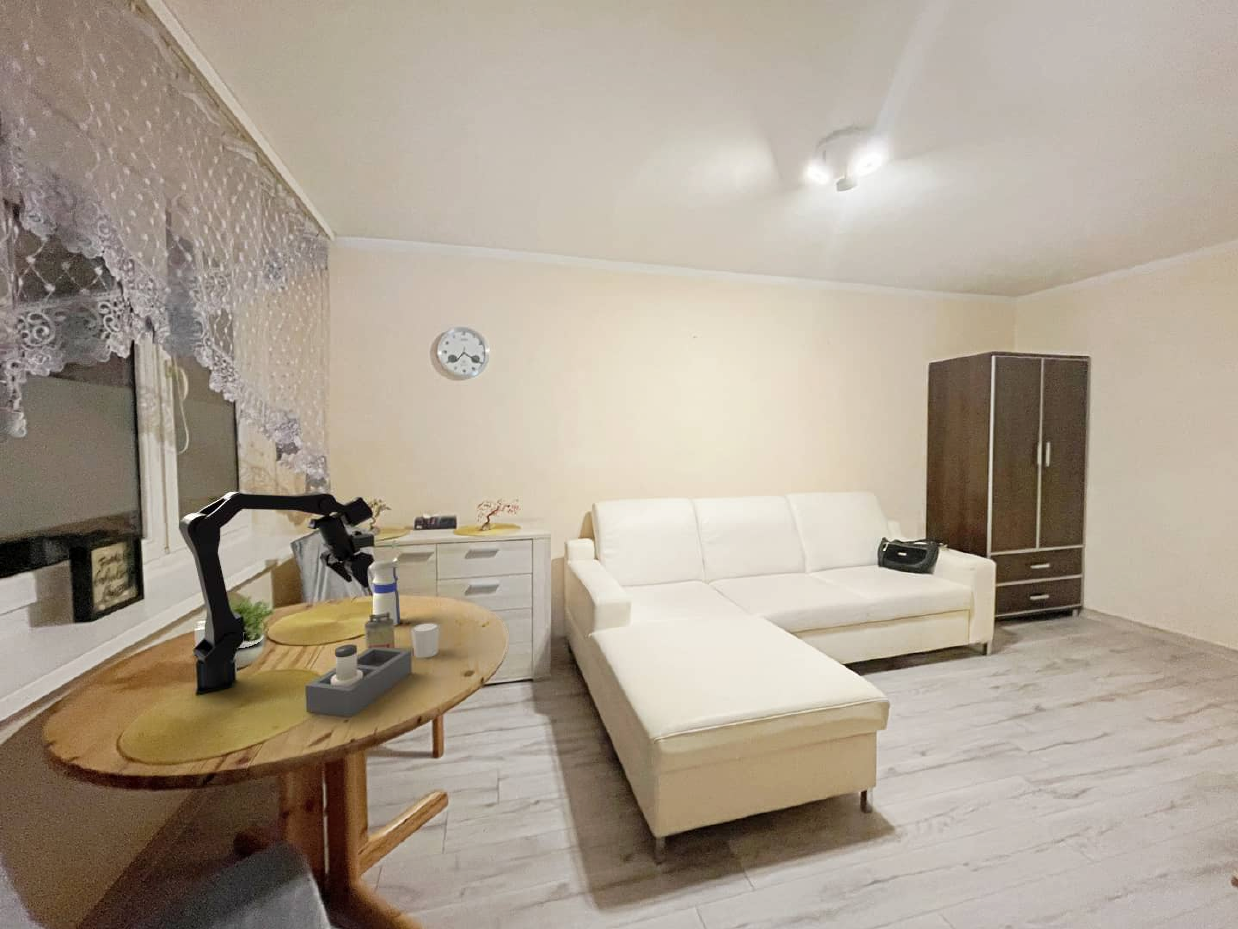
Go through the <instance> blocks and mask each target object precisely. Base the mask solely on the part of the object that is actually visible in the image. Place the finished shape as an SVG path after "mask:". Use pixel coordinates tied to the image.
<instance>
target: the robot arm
mask: <svg viewBox="0 0 1238 929" xmlns="http://www.w3.org/2000/svg"><path fill="white" fill-rule="evenodd" d="M363 498H364V497H362V496H361V497H360V496H357V497H355V498H353V499H352V500H350V501H348V502H346V503H344V504H343V503H340V502H339V501H337V500H336V498H335V496H334V494H331V493H327V492H326V493H325V492H319V491H317V492H316V491H314V492H306V493H304V492H303V493H300V494H291V495H289V494H268V493H267V494H266V493H264V494H263V493H245V492H238V491H230V492H228V493H226V494H225V495H223V496H222V497H221V498H219V499H218V500H216V501H214V502H212V503H210V504H209V505H207V506H205V507H203V508H202V509H200V510H199V511H198V512H192V513H189V514H187V515H186V516H184V517H183V518H182V519H181V520H180V521H179V524H178V531H179V532H180V534H181V536H182V538H183V540H184V542H185V544H186V546H187V547H188V548H189V550H190V552H191V554H192V556H193V559H194V562H195V566H196V572H197V576H198V580H199V584H200V590H201V593H202V598H203V602H204V607H205V610H206V618H205V620H204V621H205V638H204V639H203V640H202V641H201V642H200V643H199V644H198V645H197V646H196V647H195V646H194V648H193V649H192V652H193V655H194V656H195V657H196V658H197V659H198V660H197V661H196V663H195V671H196V690H195V693H196V694H195V695H198V694H197V693H201V694H203V693H204V694H205V693H209V691H210V692H214V691H219V689H220V690H223V689H222V688H224V689H228V688H227V687H229V688H232V687H233V685H234V682H236V681H237V678H238V670H237V669H238V668H237V664H238V663H237V659H236V658H235V656H236V653H237V650H238V649H239V648H241V647H240V645H241V644H242V643H243V642H244V633H247V631H246V630H245V628H246V627H245V617H244V616H243V615H241V614H239V613H238V612H237V611H232V610H231V606H230V600H229V597H228V592H227V587H226V583H225V578H224V574H223V570H222V566H221V565H222V564H221V561H220V557H219V556H220V555H219V548H220V543H221V528H222V527H224V526H225V525H227V524H228V523H230V521H231V520H232V519H233V518H235V516H236V515H237V514H238V513H239V512H241V511H242V510H263V511H264V510H265V511H266V510H267V511H270V510H271V511H295V512H296V511H297V512H302V513H308V514H311V515H319V516H321V517H319V518H314V517H312V518H310V522H309V523H308V525H307V528H308V529H310V530H317V529H318V531H319V533H320V535H321V537H322V539H323V541H324V542H322V545H323V547H325V548H327V549H326V550H325V551H323V552H322V553H321V554H320V556H319V559H320V562H321V564H323V565H325V568H326V567H327V568H328V569H330V570H331V571H332V572H334V573H335V574H337V575H338V576H339V577H340V578H342V579H343V580H344V581H345V582H346V583H351V582H353V580H355V581H356V582H357V583H358V584H359V585H360V586H361V587H363V589H367V588H369V569H370V568H369V566H370V565H372V563H373V562H374V561H375V558H374V556H373V554H371V553H367V552H363V551H361V549H364V548H369V547H370V548H373V547H376V546H375V535H374V534H371V533H364V532H363V533H362V531H361V530H352V532H351V534H349V533H348V531H347V528H346V527H350V528H354V527H356V526H358V525H360V524H362V523H364V522H366V521H368V520H370V519H371V518H373V516H374V512H373V509H372V507H370V505H369V504H368V503H367V502H366V501H364V499H363ZM332 513H333V514H332ZM234 658H235V659H234Z"/></svg>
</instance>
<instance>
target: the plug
mask: <svg viewBox="0 0 1238 929" xmlns="http://www.w3.org/2000/svg"><path fill="white" fill-rule="evenodd" d="M357 655H358V646H357V645H356V644H344V645H341V646H339V647H336V648H335V649H334V656H335V668H336V674H335V675H334V676H333V677H332V678H331V684H332V685H340V686H348V687H349V686H351V685H352V684H354V683H355V682H357V681H358V680H360V679H361V678H363V672H362V671H361V670H357Z"/></svg>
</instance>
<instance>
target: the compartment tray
mask: <svg viewBox="0 0 1238 929" xmlns="http://www.w3.org/2000/svg"><path fill="white" fill-rule="evenodd" d="M412 666H413V665H412V650H411V649H401V648H395V649H393V648H383V647H371V648H369V649H368V650H366V651H362V652H361V653H359V654H357V670H361V671H362V672H363V678H361V679H360V680H358V681H357V682H355V683H354V684H352V685H351V686H349V687H348V686H340V685H332V684H331V678H332V677H333V676H334V675H335V674H336V667H334V668H332V669H331V670H329V671H328V672H326V673H324V674H323V675H321V676H320V677H318V678H316V679H314V680H312V681H311V682H308V683H307V684H306V685H305V703H306V705H305V706H306V712H307V711H312V712H311V713H314V712H315V713H314V714H322V715H323V714H324V715H328V716H330V715H331V716H336V717H342V718H343V717H344V718H352V717H353V716H355V715H357V714H358V713H359V712H360V711H362V710H363V709H364V708H366V707H367V706H368V705H370V704H371V703H372V702H374V701H375V700H377V699H378V698H379V697H381V696H382V695H384V694H385V693H386V692H387V691H389V690H390V689H392V688H394V686H396V685H398V683H400V682H401V681H403V680H404V679H406V678H407V677H408V676H410V675H411V674H412V670H413V668H412Z"/></svg>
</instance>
